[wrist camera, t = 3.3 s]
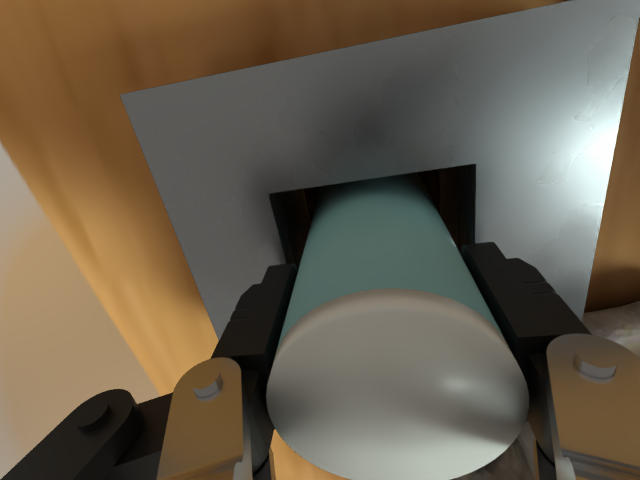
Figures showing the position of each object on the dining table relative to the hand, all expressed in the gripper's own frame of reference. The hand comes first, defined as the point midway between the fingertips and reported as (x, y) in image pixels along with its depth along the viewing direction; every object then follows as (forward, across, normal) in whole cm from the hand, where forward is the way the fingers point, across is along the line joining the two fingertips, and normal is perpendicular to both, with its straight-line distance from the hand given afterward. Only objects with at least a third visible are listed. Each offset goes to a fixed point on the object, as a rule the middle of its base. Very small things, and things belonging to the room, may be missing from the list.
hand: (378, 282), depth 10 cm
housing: (+6, 0, 0) cm, 6 cm away
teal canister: (+6, 0, 0) cm, 6 cm away
